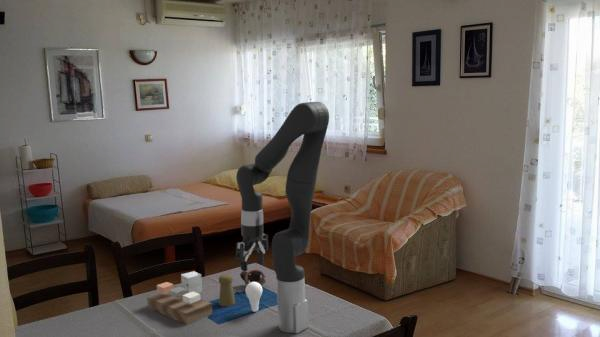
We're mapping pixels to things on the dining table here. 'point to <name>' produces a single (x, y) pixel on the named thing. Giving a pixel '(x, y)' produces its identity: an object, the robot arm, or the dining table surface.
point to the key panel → (179, 307)
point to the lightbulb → (254, 294)
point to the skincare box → (192, 282)
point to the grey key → (178, 292)
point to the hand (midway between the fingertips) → (252, 267)
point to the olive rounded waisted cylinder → (226, 290)
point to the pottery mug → (253, 277)
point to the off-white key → (191, 297)
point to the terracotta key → (165, 287)
